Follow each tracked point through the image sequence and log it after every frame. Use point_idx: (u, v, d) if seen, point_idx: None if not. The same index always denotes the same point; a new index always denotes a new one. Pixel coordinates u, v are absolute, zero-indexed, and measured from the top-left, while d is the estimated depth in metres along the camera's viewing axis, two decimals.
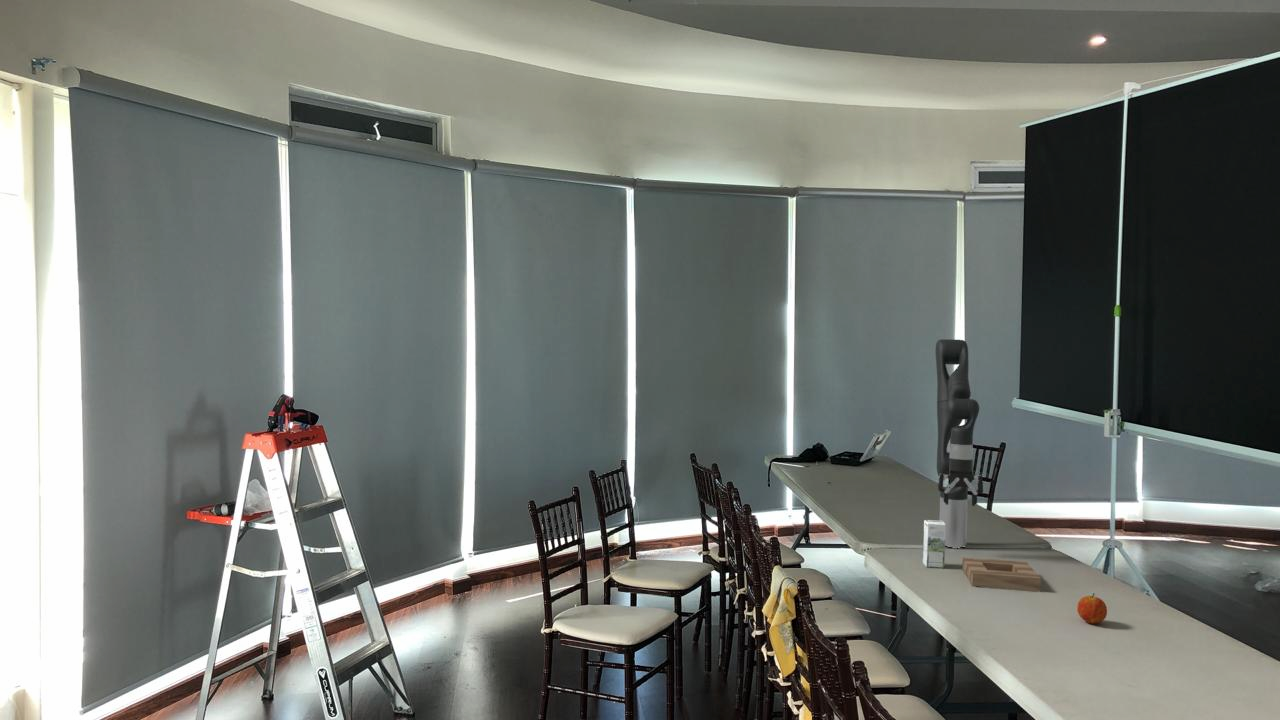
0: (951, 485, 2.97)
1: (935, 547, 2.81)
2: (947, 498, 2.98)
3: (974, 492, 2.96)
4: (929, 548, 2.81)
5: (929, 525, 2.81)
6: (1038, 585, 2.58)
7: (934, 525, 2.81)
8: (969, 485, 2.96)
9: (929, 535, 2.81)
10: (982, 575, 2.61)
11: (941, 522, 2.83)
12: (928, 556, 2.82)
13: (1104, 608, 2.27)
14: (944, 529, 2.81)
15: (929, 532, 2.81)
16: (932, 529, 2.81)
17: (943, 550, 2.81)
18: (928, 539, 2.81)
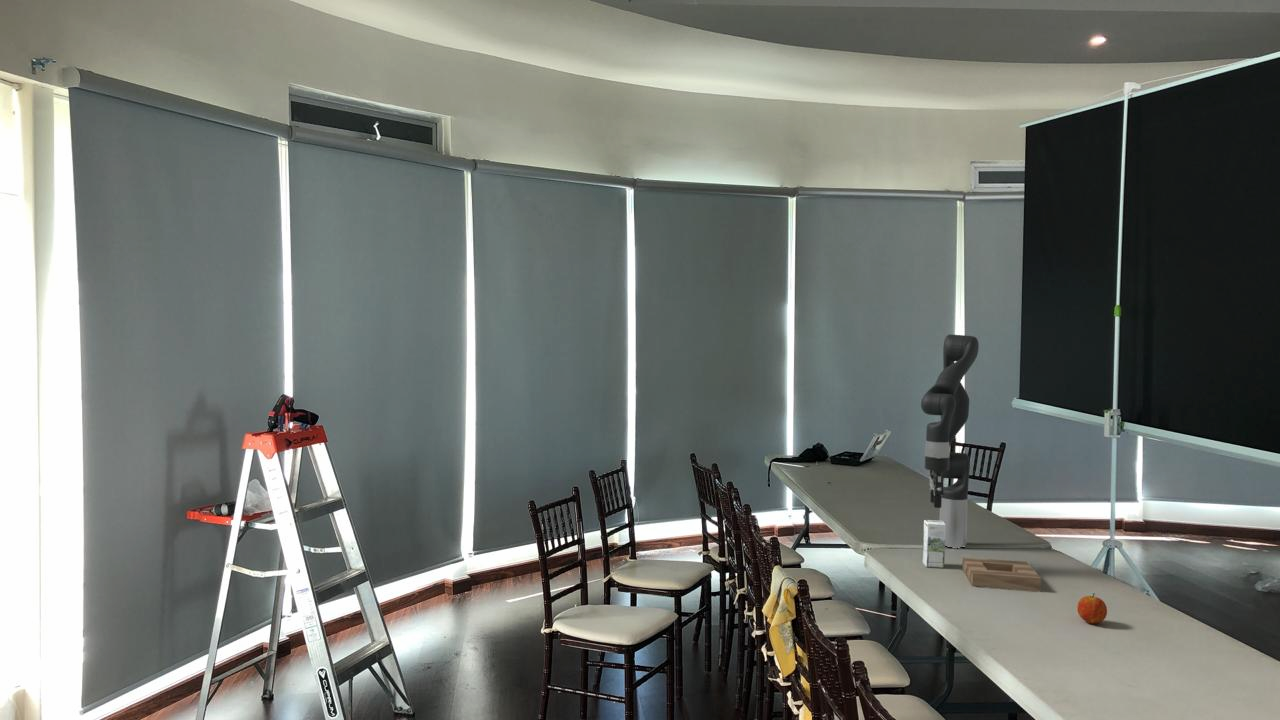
0: None
1: (935, 547, 2.81)
2: None
3: None
4: (929, 548, 2.81)
5: (929, 525, 2.81)
6: (1038, 585, 2.58)
7: (934, 525, 2.81)
8: None
9: (929, 535, 2.81)
10: (982, 575, 2.61)
11: (941, 522, 2.83)
12: (928, 556, 2.82)
13: (1104, 608, 2.27)
14: (944, 529, 2.81)
15: (929, 532, 2.81)
16: (932, 529, 2.81)
17: (943, 550, 2.81)
18: (928, 539, 2.81)
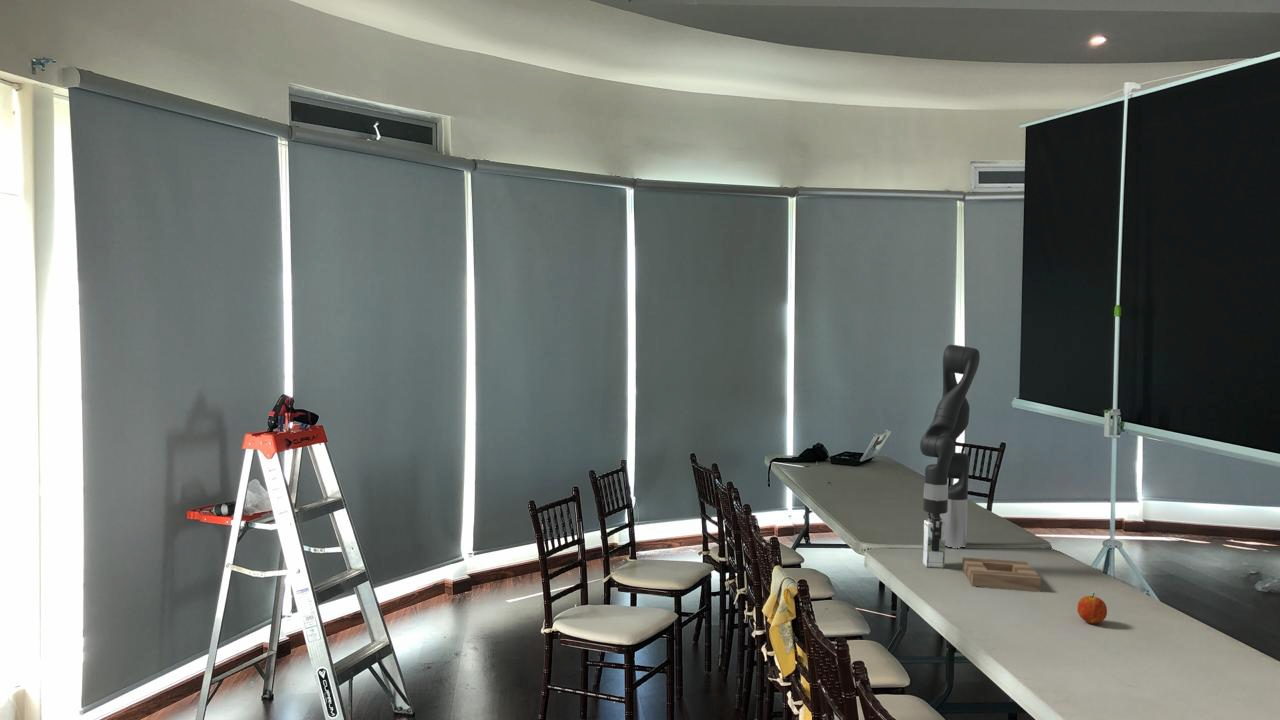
0: None
1: None
2: None
3: None
4: (929, 548, 2.81)
5: (929, 525, 2.81)
6: (1038, 585, 2.58)
7: None
8: None
9: (929, 535, 2.81)
10: (982, 575, 2.61)
11: None
12: (928, 556, 2.82)
13: (1104, 608, 2.27)
14: (944, 529, 2.81)
15: (929, 532, 2.81)
16: None
17: (943, 550, 2.81)
18: (928, 539, 2.81)
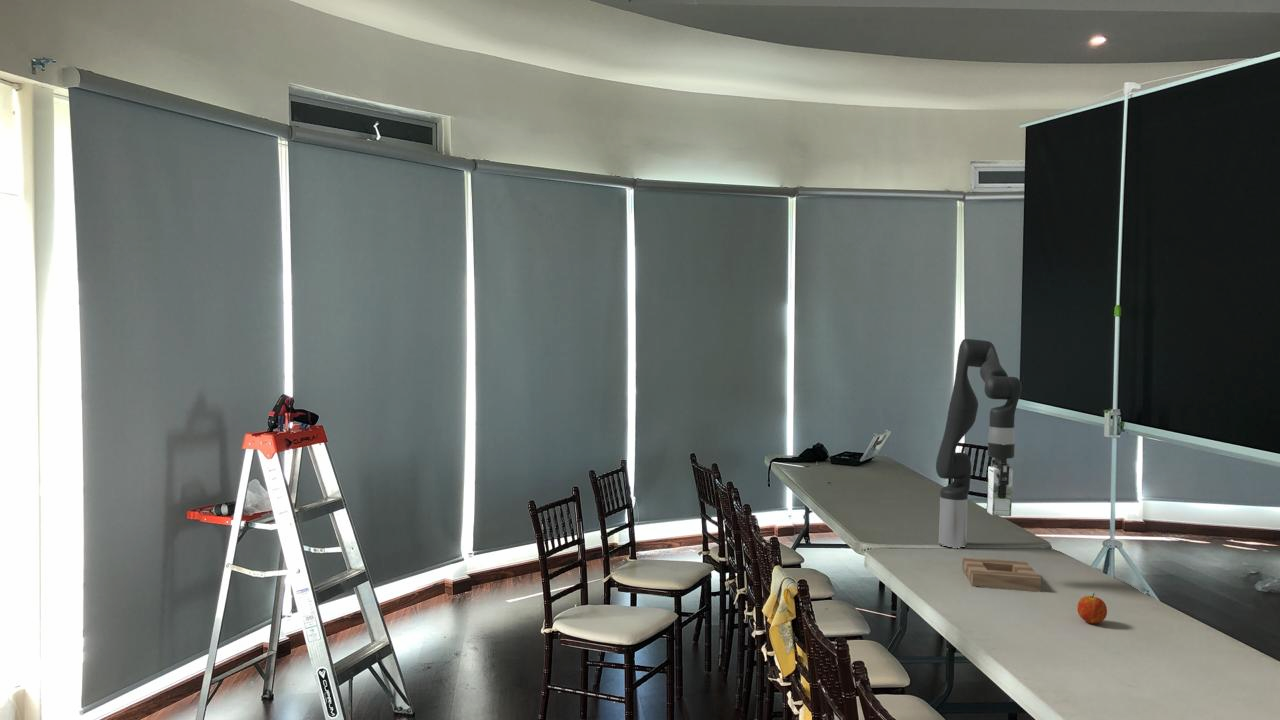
0: None
1: None
2: None
3: None
4: (995, 495, 2.66)
5: (995, 471, 2.66)
6: (1038, 585, 2.58)
7: None
8: None
9: (994, 481, 2.66)
10: (982, 575, 2.61)
11: None
12: (994, 504, 2.66)
13: (1104, 608, 2.27)
14: (1011, 475, 2.65)
15: (995, 478, 2.66)
16: None
17: (1010, 497, 2.65)
18: (994, 485, 2.66)
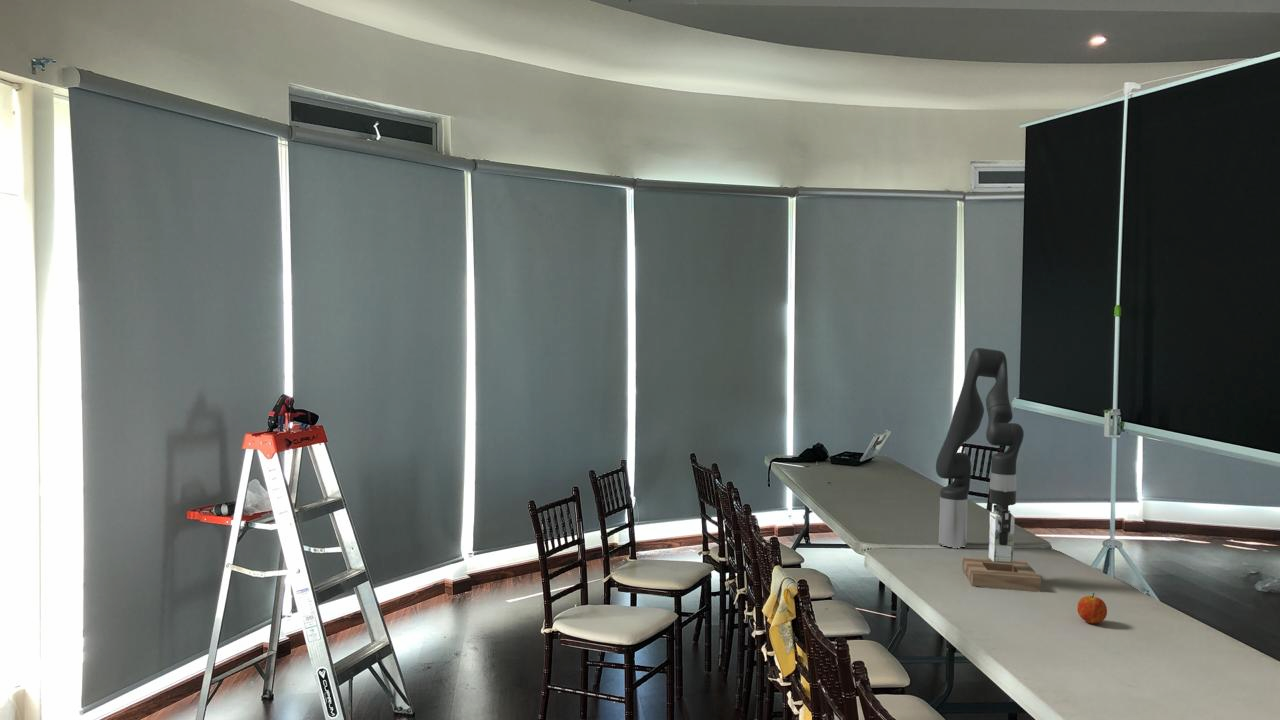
0: None
1: None
2: None
3: None
4: (996, 541, 2.66)
5: (996, 517, 2.66)
6: (1038, 585, 2.58)
7: None
8: None
9: (996, 527, 2.66)
10: (982, 575, 2.61)
11: None
12: (995, 550, 2.66)
13: (1104, 608, 2.27)
14: (1012, 521, 2.65)
15: (996, 525, 2.66)
16: (1000, 521, 2.66)
17: (1012, 543, 2.65)
18: (995, 532, 2.66)
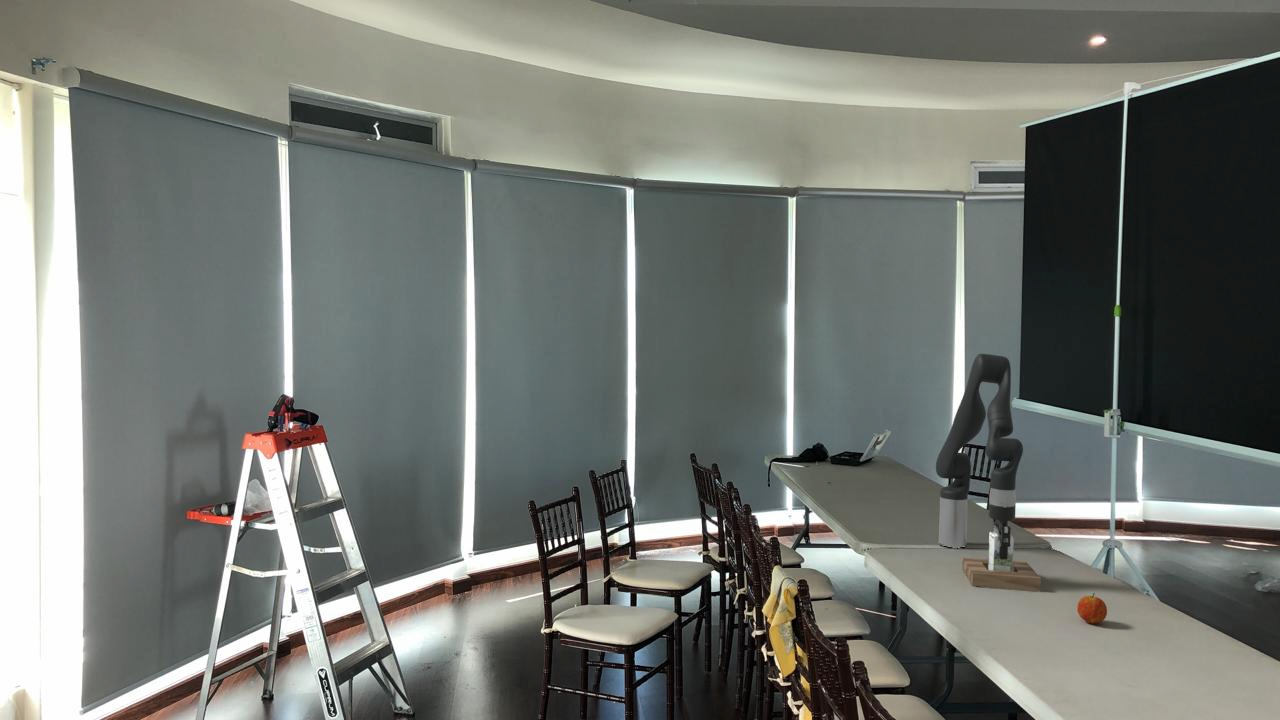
0: None
1: (1002, 561, 2.66)
2: None
3: None
4: (995, 561, 2.66)
5: (995, 537, 2.66)
6: (1038, 585, 2.58)
7: None
8: None
9: (995, 548, 2.66)
10: (982, 575, 2.61)
11: None
12: (994, 570, 2.66)
13: (1104, 608, 2.27)
14: (1012, 542, 2.65)
15: (995, 545, 2.66)
16: None
17: (1011, 563, 2.65)
18: (994, 552, 2.66)
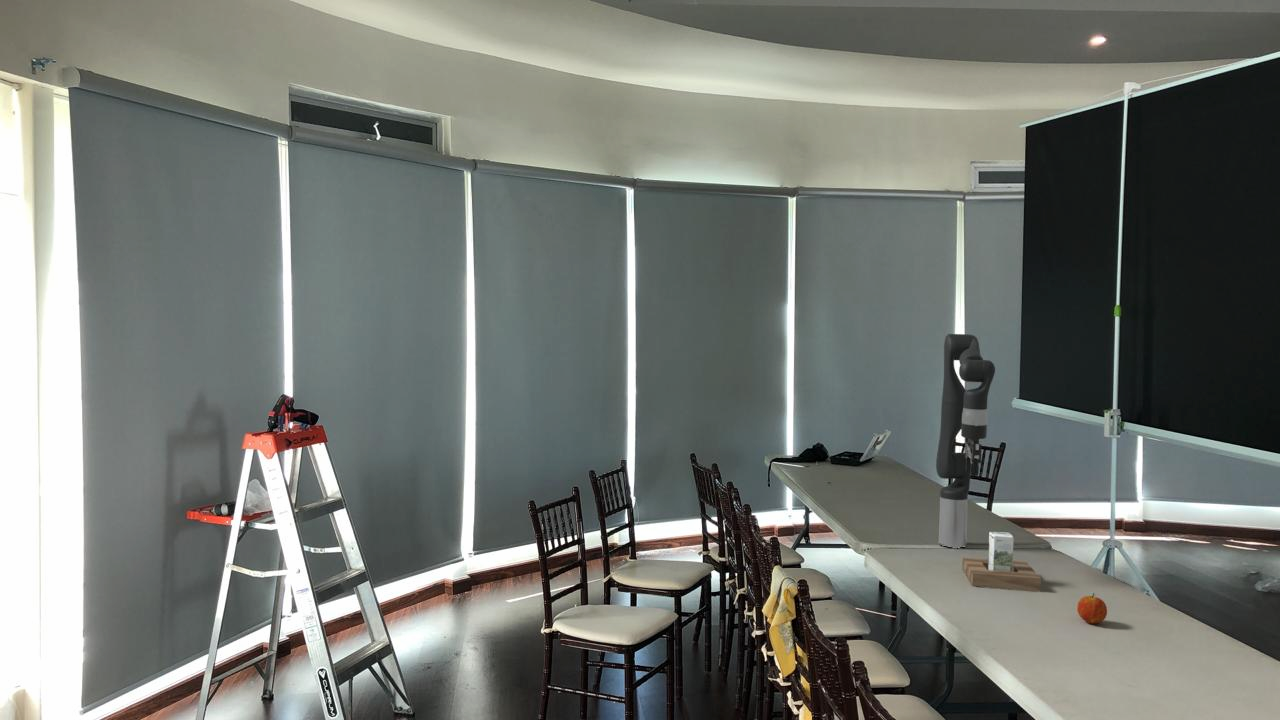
0: None
1: (1002, 561, 2.66)
2: None
3: None
4: (995, 561, 2.66)
5: (995, 537, 2.66)
6: (1038, 585, 2.58)
7: (1001, 537, 2.66)
8: None
9: (995, 548, 2.66)
10: (982, 575, 2.61)
11: (1008, 534, 2.67)
12: (994, 570, 2.66)
13: (1104, 608, 2.27)
14: (1012, 542, 2.65)
15: (995, 545, 2.66)
16: (999, 542, 2.66)
17: (1011, 563, 2.65)
18: (994, 552, 2.66)
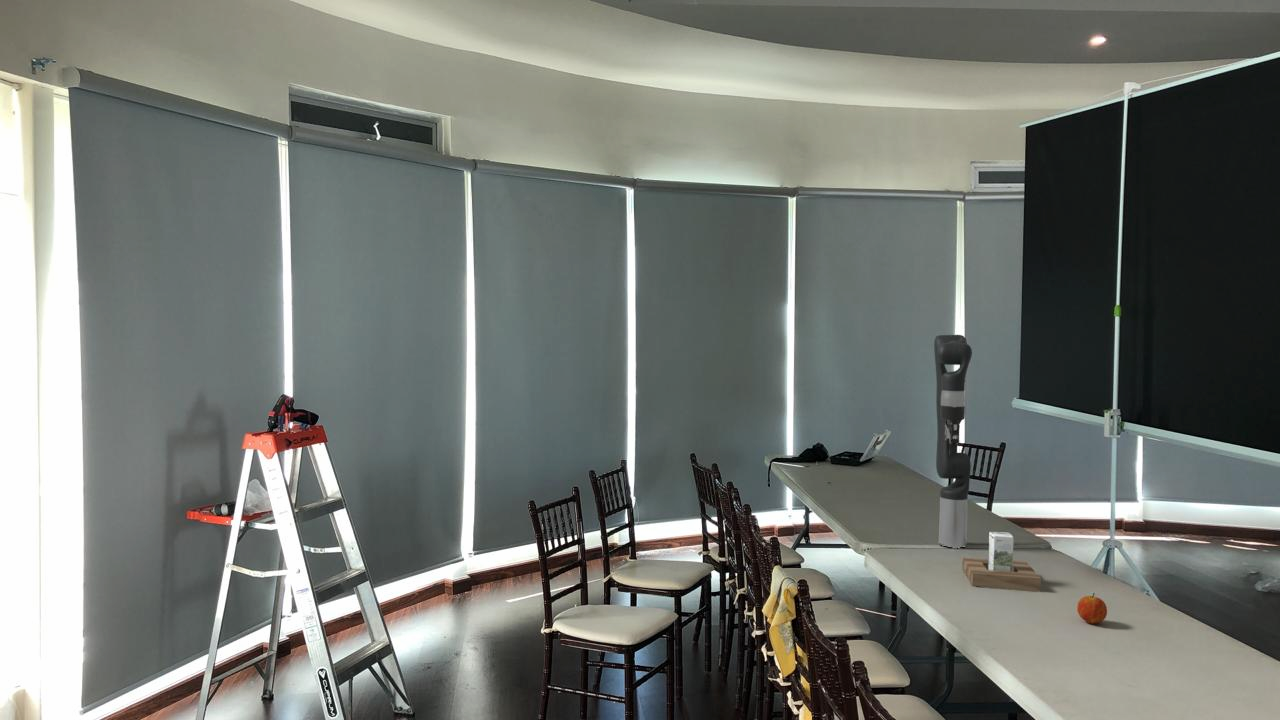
0: None
1: (1002, 561, 2.66)
2: None
3: (953, 438, 2.90)
4: (995, 561, 2.66)
5: (995, 537, 2.66)
6: (1038, 585, 2.58)
7: (1001, 537, 2.66)
8: None
9: (995, 548, 2.66)
10: (982, 575, 2.61)
11: (1008, 534, 2.67)
12: (994, 570, 2.66)
13: (1104, 608, 2.27)
14: (1012, 542, 2.65)
15: (995, 545, 2.66)
16: (999, 542, 2.66)
17: (1011, 563, 2.65)
18: (994, 552, 2.66)
